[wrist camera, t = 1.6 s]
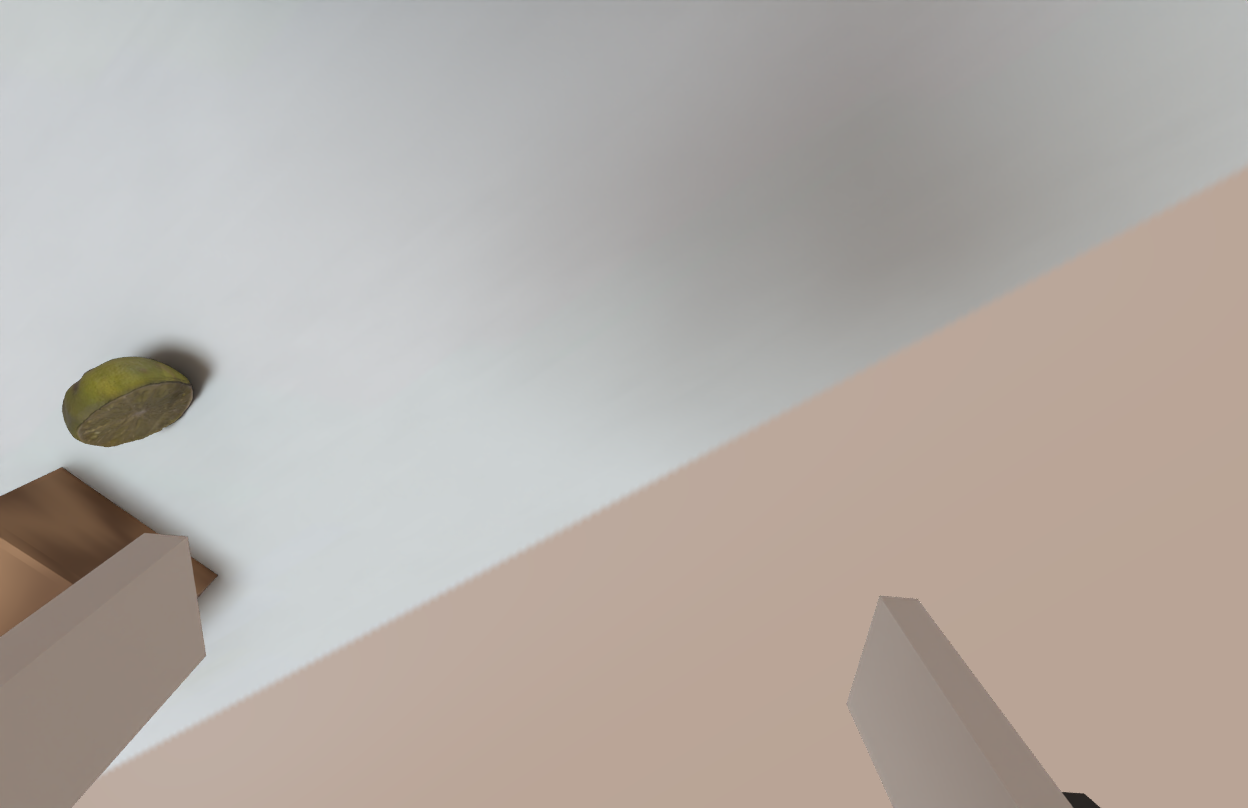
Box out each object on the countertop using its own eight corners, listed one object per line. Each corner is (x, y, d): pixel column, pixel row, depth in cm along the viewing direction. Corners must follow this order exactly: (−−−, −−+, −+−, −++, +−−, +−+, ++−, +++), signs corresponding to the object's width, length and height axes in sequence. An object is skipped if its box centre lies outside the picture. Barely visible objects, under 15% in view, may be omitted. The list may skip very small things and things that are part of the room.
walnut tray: (-19, 574, 35) (-129, 638, 30) (66, 465, 33) (-37, 513, 28) (132, 669, 38) (54, 743, 32) (220, 572, 35) (153, 635, 30)
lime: (206, 355, 31) (133, 382, 26) (206, 438, 32) (136, 478, 28) (117, 337, 31) (26, 361, 26) (121, 422, 32) (36, 460, 27)
